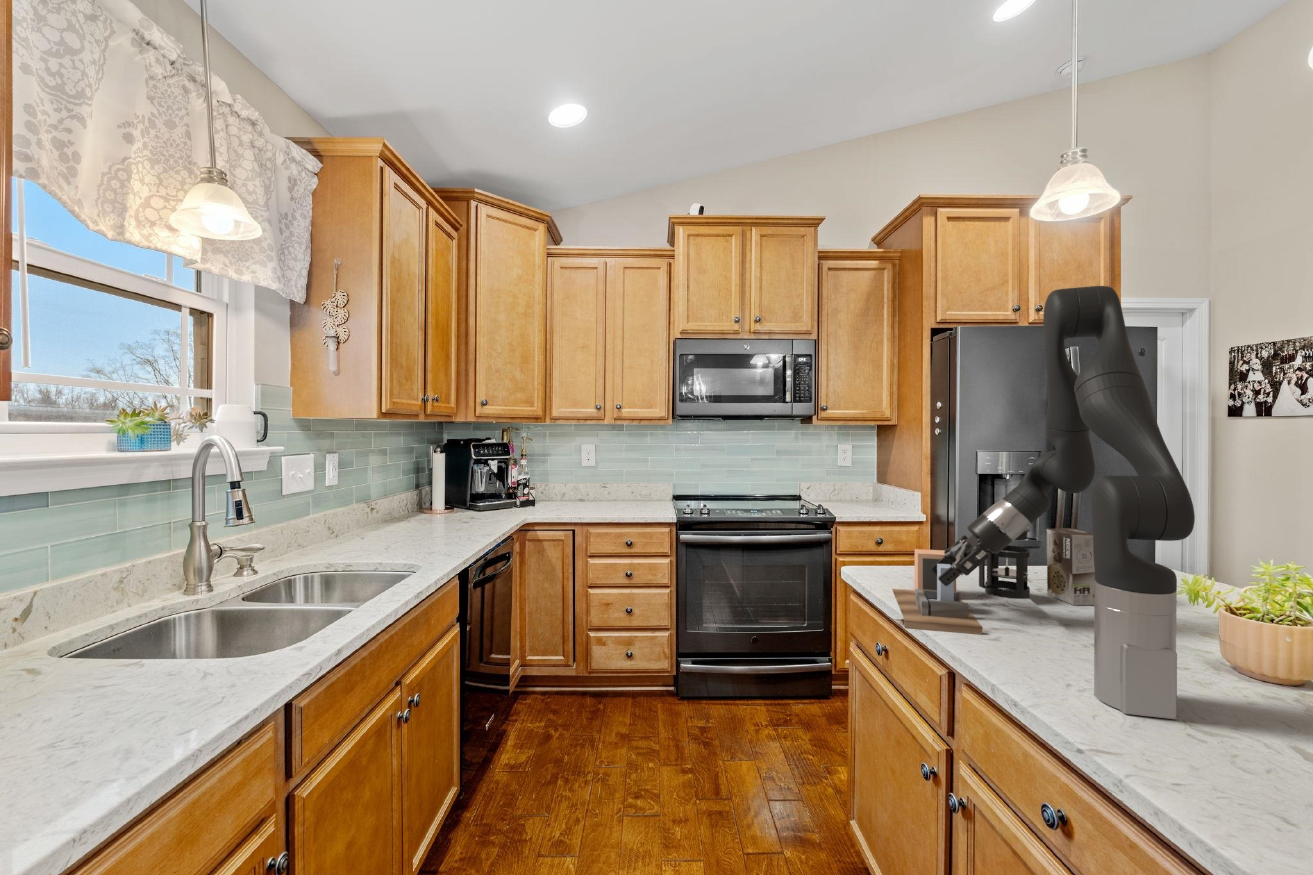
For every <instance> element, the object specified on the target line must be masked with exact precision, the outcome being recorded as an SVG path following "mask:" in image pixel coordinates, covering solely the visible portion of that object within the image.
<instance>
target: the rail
mask: <svg viewBox="0 0 1313 875" xmlns="http://www.w3.org/2000/svg"><path fill="white" fill-rule="evenodd" d="M891 590H892V592H893V594H894V598H895V600H896V603H897V605H898V608H899V610H900V612H901V613H900V614H902V618H901V619H900V620H901V621H902V622H901V623H902V625H903V627H904V629H912V630H923V631H924V630H925V631H938V632H949V633H958V634H959V633H960V634H961V633H962V634H971V635H972V634H973V635H983V626H982V625H981V623H980V622H979V621H978V620H977V618H976V617H975V616H974V614H973V613H972V612H971V610H970V609H969V608H970V606H969V602H963V600H962V599H961V598H960V597H961V596H960V594H961V593H960V592H959V591H956V592H954V601H959V602H949V601H935V600H937V590H924V593H923V592H922V590H921V589H915V588H914V589H902V588H891ZM928 599H934V600H930V609H929V607H928Z"/></svg>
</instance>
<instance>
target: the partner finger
mask: <svg viewBox="0 0 1313 875" xmlns="http://www.w3.org/2000/svg"><path fill="white" fill-rule="evenodd" d="M945 550H946V549H945ZM945 550H943V549H942V550H939V549H925V548H923V549H921V548H914V590H915V589H921V590H922V592H923V593H924V590H937V575H936V574H935V573H934V572H933V571H932V569H931V568H932V567H933V566H934V565H935V564H936V563H937V562H938V561H940V560H941V559H942V558H944V557H943V556H944V554H945V553H944V552H945ZM954 592H957V578H956V579H955V580H954Z"/></svg>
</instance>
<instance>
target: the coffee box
mask: <svg viewBox="0 0 1313 875" xmlns="http://www.w3.org/2000/svg"><path fill="white" fill-rule="evenodd" d="M1046 572H1047V573H1046V575H1047V576H1046V578H1047V579H1046V580H1047V581H1046V583H1047V584H1046V585H1047V586H1046V588H1047V589H1046V591H1047V592H1046V593H1047V595H1048V596H1051V597H1052V598H1055V599H1058V600H1060V601H1062V602H1065V603H1067V604H1069V605H1073V606H1094V600H1095V568H1094V556H1093V532H1089V531H1086V530H1082V529H1081V530H1080V529H1076V528H1071V527H1065V528H1063V527H1062V528H1046Z"/></svg>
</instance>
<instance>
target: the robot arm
mask: <svg viewBox="0 0 1313 875" xmlns="http://www.w3.org/2000/svg"><path fill="white" fill-rule="evenodd" d="M1121 305H1122V304H1121V300H1120V298H1119V295H1118V293H1117V291H1116V290H1115V289H1114V288H1112V286H1111V287H1110V286H1108V285H1092V286H1091V285H1090V286H1081V287H1080V286H1079V287H1070V288H1069V287H1068V288H1059V289H1055V290H1052V291H1051V292H1050V293H1049V294H1048V296H1047V298H1046V300H1045V303H1044V306H1043V307H1044V308H1043V319H1042V320H1043V325H1042V326H1043V340H1044V342H1043V343H1044V356H1045V357H1044V358H1045V372H1046V382H1047V407H1046V408H1047V409H1046V410H1047V411H1046V420H1045V421H1046V424H1045V425H1046V426H1045V435H1046V439H1047V440H1048V441H1049V442H1050V443H1051V444H1052V445H1053V446H1054V448H1055V450H1050V451H1047V452H1045V453H1043V454H1042V455H1040V456H1039V457H1037V458H1036V459H1035V460H1034V461H1033V463H1032V464H1031V465H1030V466H1029V468H1028V470H1027V471H1026V472H1025V474H1024V475H1023V476H1022V478H1021V480H1020V482H1019V483H1018V485H1016V487H1014V488H1013V489H1011V490H1010V491H1009V492H1008V493H1007V494H1006V495H1005V496H1003V497H1002V498H1001V499H1000V500H998V501H997V502H995V503H994V504H992V505H991V506H990V507H988V508H987V509H986V510H985V511H983V513H981V515H979V516H978V517H976V519H974V520H973V521H971V523H970V524H968V525H967V531H968V532H969V533H970V534H971V536H969V537H967V535H965V534H964V535H962V536H961V537H960V538H959V539H957V540H956V542H954V543H953V544H951V545H950V546H949V547H948V548H947V549H945V552H944V553H945V554H944V556H943V557H944V558H942V559H941V560H940V561H938V562H937V563H936V564H935V565H934V566H933V567H932V568H931V569H932V571H933V572H934V573H935V574H936V575H937V564H950V565H951V566H952V567H953V568H952V567H950V568H949V569H948V570H946V571H945V572H944V573H943V574H942V575H940V576H939V578H938V579H939V581H940V582H941V583H942V584H943V585H945V586H948V585H949V584H950V583H952V582H953V581H954V580H955V579H956V580H957V579H958V578H959V577H960V576H968V575H970V574H971V573H972V572H973V571H974V570H976V569H977V568H979V565H980V564H981V563H982V562H984V561H985V562H986V561H987V558H988V557H989V555H988V554H987V553H986V552H985V551H986V550H987V549H989V550H990V551H991V552H992V553H994V554H998V553H999V552H1000V551H1004V550H1003V549H1004V548H1005V547H1006V546H1007V545H1010V544H1011V543H1012V542H1013V541H1016V540H1015V539H1016V538H1017V537H1018V536H1019V535H1021V534H1022V533H1023V532H1024V531H1025V530H1026V529H1027V528H1029V527H1030V525H1032V524H1033V523H1034V522H1036V521H1037V520H1038V519H1039V518H1041V517H1042V515H1044V514H1045V513H1046V512H1047V511H1048V510H1049V509H1050V508H1051V504H1052V503H1051V500H1050V499H1049V497H1048V496H1047V495H1048V494H1049V492H1051V489H1053V487H1055V488H1057V489H1058V490H1060V491H1062V492H1065V493H1067V494H1079V493H1081V492H1084V491H1085V490H1087V489H1088V488H1089V487H1090V486H1091V485H1092V482H1093V480H1094V479H1095V474H1096V464H1095V459H1094V452H1093V448H1092V443H1091V440H1090V431H1091V432H1092V433H1093V434H1094V435H1095V436H1097V437H1098V438H1099V439H1100V440H1101V441H1103V442H1105V444H1107V445H1108V446H1110V447H1111V448H1112V449H1114V450H1115V451H1117V453H1119V454H1120V455H1121V456H1123V458H1125V459H1126V461H1127V462H1129V464H1130V466H1132V467H1133V469H1134V471H1135V472H1136V474H1137V475H1103V476H1101V477H1099V478H1098V479H1097V480H1095V482H1094V484H1093V486H1092V489H1091V494H1090V495H1091V497H1090V498H1091V499H1090V508H1091V509H1090V511H1091V526H1092V533H1093V556H1094V568H1095V600H1094V605H1093V606H1094V616H1093V618H1094V619H1093V620H1094V621H1093V622H1094V623H1093V624H1094V626H1093V627H1094V628H1093V633H1094V634H1093V638H1094V639H1093V640H1094V642H1093V645H1094V646H1093V649H1094V650H1093V655H1094V656H1093V672H1094V675H1093V694H1094V696H1095V697H1096V698H1097V699H1098V700H1099V701H1101V702H1102V703H1104V704H1106V705H1108V706H1110V707H1112V708H1114V709H1118V710H1119V711H1121V713H1123V714H1125V715H1133V716H1143V717H1151V718H1152V717H1153V718H1161V719H1169V720H1177V714H1178V713H1177V712H1178V706H1177V705H1178V703H1177V702H1178V653H1177V612H1178V610H1177V605H1178V604H1177V603H1178V602H1177V601H1178V600H1177V593H1178V580H1177V575H1176V573H1175V572H1174V570H1173V569H1171V568H1169V567H1167V566H1165V565H1162V564H1159V563H1156V562H1153V561H1150V560H1147V559H1144V558H1142V557H1140V556H1138V555H1136V554H1135V553H1133V552H1132V551H1130V549H1129V545H1128V544H1129V543H1128V540H1136V541H1138V540H1141V541H1161V542H1163V541H1164V542H1165V541H1167V542H1168V541H1169V542H1171V541H1172V542H1173V541H1181V540H1185V539H1186V538H1187V539H1188V537H1189V536H1191V534H1192V532H1193V530H1194V527H1195V519H1196V518H1195V509H1194V504H1193V501H1192V497H1191V494H1190V491H1189V489H1188V487H1187V484H1186V482H1185V481H1184V478H1183V476H1182V474H1181V472H1180V469H1179V468H1178V467H1177V464H1176V462H1175V460H1174V457H1173V456H1172V454H1171V452H1170V450H1169V448H1168V446H1167V444H1166V443H1165V440H1164V438H1163V435H1162V433H1161V432H1162V431H1161V430H1160V427H1159V424H1158V421H1157V418H1156V416H1155V412H1154V409H1153V406H1152V402H1151V398H1150V395H1149V392H1148V390H1147V387H1146V383H1145V381H1144V379H1143V376H1142V374H1141V372H1140V370H1139V367H1138V365H1137V363H1136V359H1135V357H1134V356H1135V355H1134V353H1133V351H1132V347H1131V344H1130V341H1129V337H1128V332H1127V329H1126V328H1127V327H1126V322H1125V317H1124V315H1123V314H1124V313H1123V309H1122V306H1121ZM1089 337H1094V338H1096V339H1097V340H1098V343H1099V344H1098V345H1097V349H1096V350H1095V351H1094V353H1093V355H1092V356H1091V357H1090V359H1089V360H1088V361H1087V362H1086V363H1085V365H1084V366H1083V367H1082V369H1081V370H1080V372H1079V373H1078V374H1077V373H1076V371H1075V370H1074V368H1073V366H1072V364H1071V362H1070V361H1069V358H1068V355H1067V352H1066V339H1071V338H1073V339H1075V338H1089Z"/></svg>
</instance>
